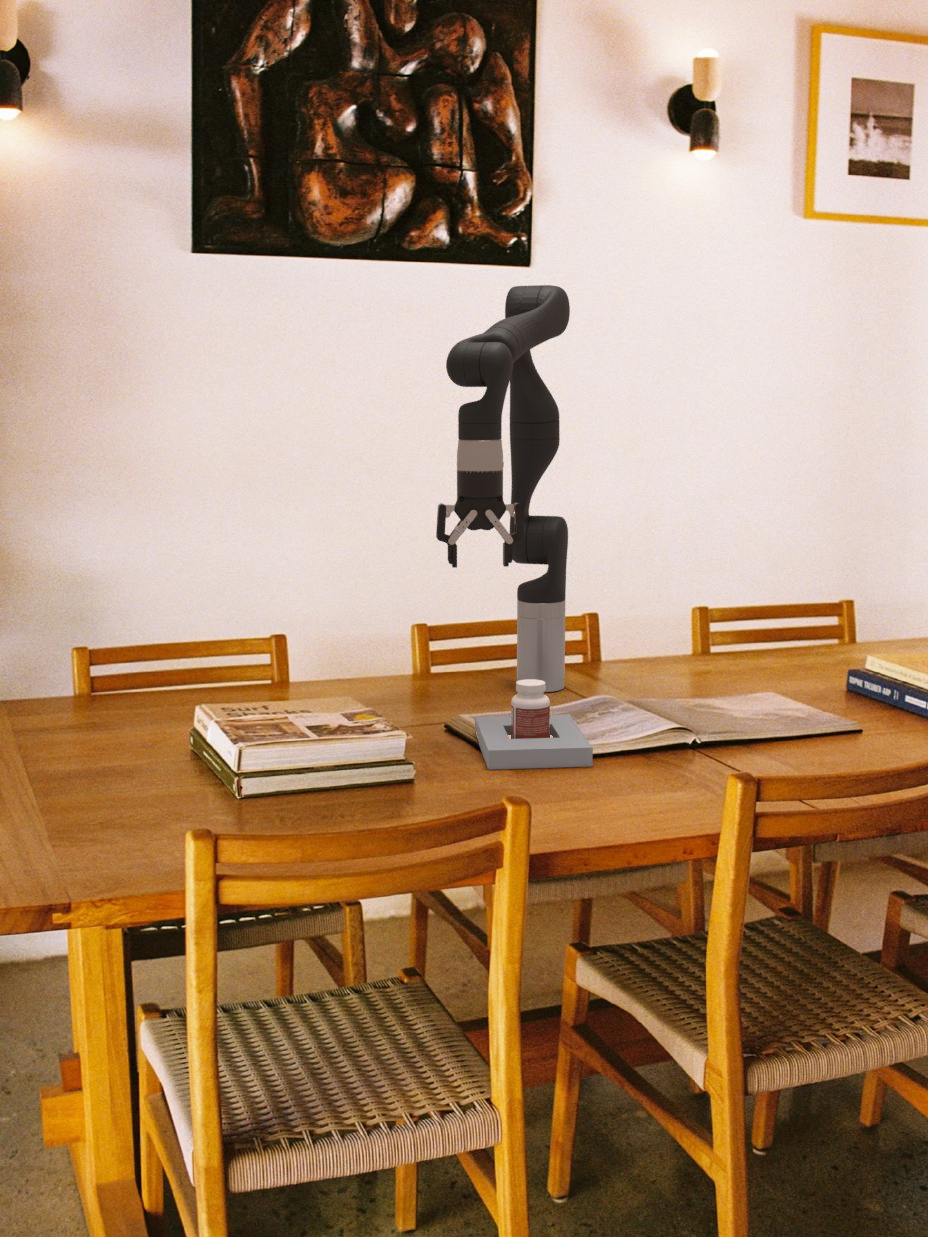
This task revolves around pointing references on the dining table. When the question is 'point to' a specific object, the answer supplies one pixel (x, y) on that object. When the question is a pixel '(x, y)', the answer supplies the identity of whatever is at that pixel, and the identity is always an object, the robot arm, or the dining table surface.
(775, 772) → the dining table surface
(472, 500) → the robot arm
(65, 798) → the dining table surface
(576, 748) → the socket board
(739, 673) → the dining table surface
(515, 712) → the pill bottle
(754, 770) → the dining table surface
